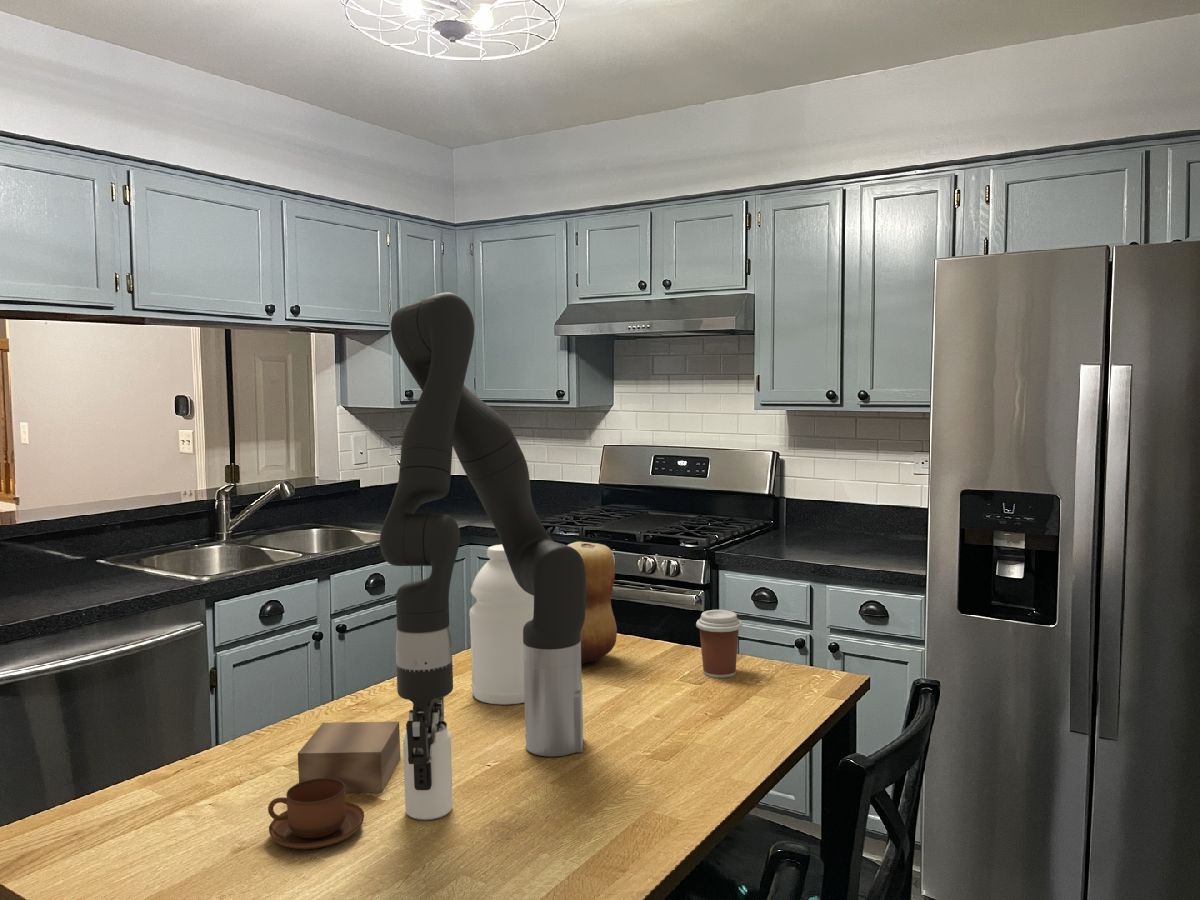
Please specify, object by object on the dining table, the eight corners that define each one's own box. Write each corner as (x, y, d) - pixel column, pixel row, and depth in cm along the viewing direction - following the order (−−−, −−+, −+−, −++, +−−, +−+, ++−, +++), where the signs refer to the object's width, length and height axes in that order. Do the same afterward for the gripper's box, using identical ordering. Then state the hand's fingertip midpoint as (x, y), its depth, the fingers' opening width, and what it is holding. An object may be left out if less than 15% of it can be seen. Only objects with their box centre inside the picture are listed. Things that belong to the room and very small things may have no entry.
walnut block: (400, 758, 147) (399, 721, 146) (382, 792, 135) (380, 752, 134) (324, 759, 147) (322, 722, 146) (299, 793, 135) (297, 753, 134)
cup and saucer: (273, 866, 115) (271, 818, 114) (266, 825, 126) (264, 780, 125) (372, 845, 120) (370, 799, 119) (356, 807, 131) (355, 764, 130)
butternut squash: (618, 671, 189) (616, 548, 187) (552, 672, 188) (549, 550, 186) (616, 651, 202) (614, 537, 200) (554, 652, 202) (551, 538, 200)
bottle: (560, 688, 179) (557, 543, 176) (516, 711, 167) (512, 556, 165) (502, 677, 186) (498, 538, 184) (456, 697, 174) (451, 549, 172)
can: (443, 823, 125) (440, 736, 124) (397, 819, 126) (394, 733, 125) (459, 802, 131) (457, 718, 130) (416, 798, 133) (413, 716, 132)
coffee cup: (745, 680, 182) (745, 619, 181) (698, 680, 182) (698, 620, 181) (739, 665, 191) (738, 607, 190) (694, 666, 191) (694, 608, 190)
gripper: (442, 675, 120) (446, 801, 121) (460, 643, 134) (463, 756, 136) (384, 676, 120) (389, 802, 121) (408, 644, 134) (411, 757, 136)
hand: (428, 777), depth 128 cm, fingers closed on can, 6 cm apart
